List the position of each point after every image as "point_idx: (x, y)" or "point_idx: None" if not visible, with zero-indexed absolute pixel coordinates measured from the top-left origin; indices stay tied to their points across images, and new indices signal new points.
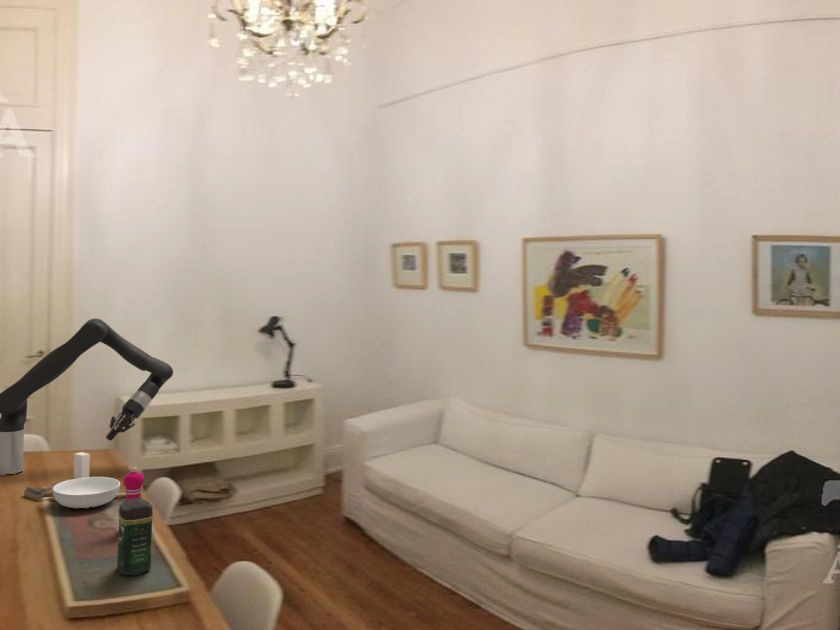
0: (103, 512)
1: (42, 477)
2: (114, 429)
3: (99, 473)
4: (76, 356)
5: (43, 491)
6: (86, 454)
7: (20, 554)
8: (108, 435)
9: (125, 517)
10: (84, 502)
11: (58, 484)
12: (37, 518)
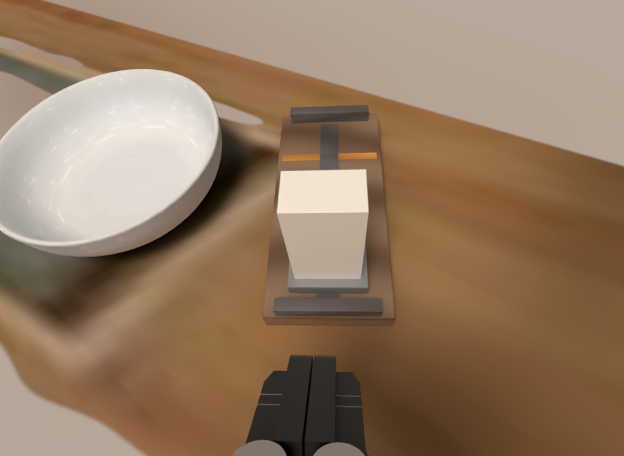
0: None
1: (599, 259)
2: (261, 444)
3: None
4: None
5: (318, 138)
6: (286, 198)
7: (45, 14)
8: (306, 368)
9: None
10: (63, 124)
11: (206, 101)
12: None
